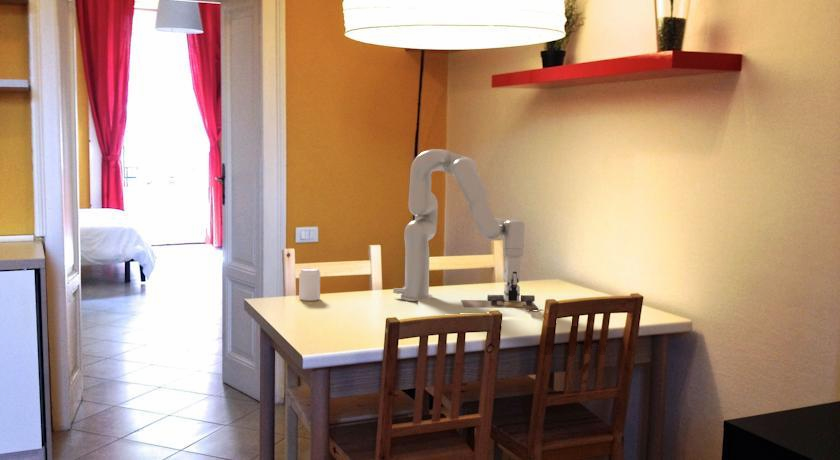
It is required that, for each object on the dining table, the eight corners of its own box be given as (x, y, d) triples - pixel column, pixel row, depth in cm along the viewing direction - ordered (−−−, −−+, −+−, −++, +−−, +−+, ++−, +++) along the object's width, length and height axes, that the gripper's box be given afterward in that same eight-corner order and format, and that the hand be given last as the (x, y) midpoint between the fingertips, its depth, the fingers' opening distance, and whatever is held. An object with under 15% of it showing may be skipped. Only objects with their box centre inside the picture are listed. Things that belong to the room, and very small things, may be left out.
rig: (464, 310, 299) (464, 297, 298) (460, 302, 312) (461, 290, 311) (538, 311, 300) (538, 298, 300) (531, 303, 313) (532, 291, 313)
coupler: (505, 302, 303) (506, 286, 303) (503, 299, 308) (504, 284, 308) (519, 302, 304) (520, 286, 303) (517, 299, 309) (517, 284, 308)
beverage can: (322, 297, 316) (322, 267, 314) (317, 302, 308) (317, 271, 306) (301, 296, 316) (302, 267, 315) (296, 301, 308) (296, 270, 307)
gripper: (500, 248, 312) (498, 294, 314) (507, 255, 295) (505, 303, 297) (519, 249, 312) (517, 294, 315) (527, 256, 295) (525, 304, 298)
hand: (511, 298), depth 306 cm, fingers closed on coupler, 5 cm apart
